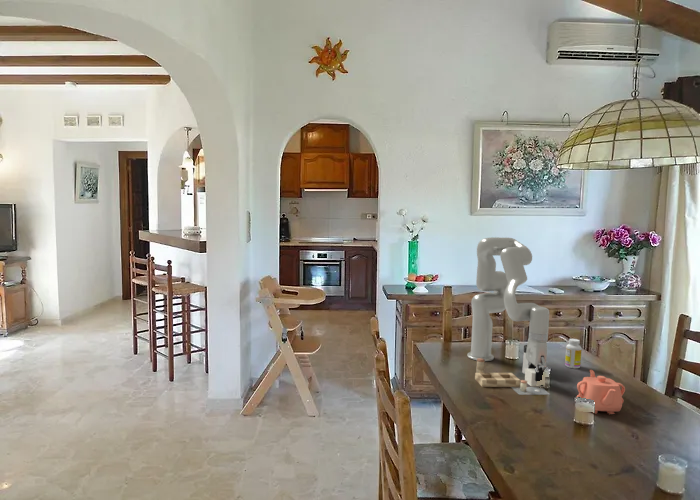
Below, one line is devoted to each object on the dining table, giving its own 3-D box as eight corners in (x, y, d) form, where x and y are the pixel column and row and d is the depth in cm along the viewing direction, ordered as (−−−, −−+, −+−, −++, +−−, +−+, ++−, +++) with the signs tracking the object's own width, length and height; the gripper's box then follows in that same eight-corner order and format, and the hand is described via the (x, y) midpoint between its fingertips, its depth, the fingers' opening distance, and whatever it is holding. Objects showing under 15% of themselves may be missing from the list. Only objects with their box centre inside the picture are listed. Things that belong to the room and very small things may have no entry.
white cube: (524, 381, 218) (525, 368, 217) (538, 381, 218) (539, 368, 218) (531, 386, 211) (531, 373, 211) (545, 386, 212) (546, 373, 212)
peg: (474, 376, 223) (475, 358, 222) (482, 376, 223) (483, 358, 222) (477, 378, 219) (478, 360, 218) (484, 378, 220) (485, 360, 219)
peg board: (474, 379, 218) (475, 372, 218) (511, 379, 220) (511, 372, 219) (482, 387, 209) (482, 380, 209) (519, 387, 211) (520, 380, 210)
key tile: (510, 387, 210) (511, 377, 209) (541, 387, 211) (542, 377, 211) (518, 395, 202) (519, 384, 202) (550, 395, 203) (551, 384, 203)
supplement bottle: (581, 366, 241) (583, 339, 240) (579, 369, 236) (581, 342, 234) (566, 363, 245) (568, 337, 244) (563, 367, 239) (565, 340, 238)
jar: (545, 374, 228) (547, 347, 227) (535, 377, 223) (537, 350, 222) (527, 368, 235) (529, 343, 234) (517, 371, 230) (519, 345, 229)
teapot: (588, 398, 201) (590, 367, 200) (632, 412, 188) (634, 379, 187) (567, 406, 192) (570, 373, 191) (612, 422, 179) (615, 387, 178)
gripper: (520, 331, 221) (518, 371, 223) (538, 342, 204) (535, 385, 206) (537, 331, 222) (534, 371, 223) (556, 342, 205) (553, 385, 206)
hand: (535, 377), depth 215 cm, fingers closed on white cube, 6 cm apart
